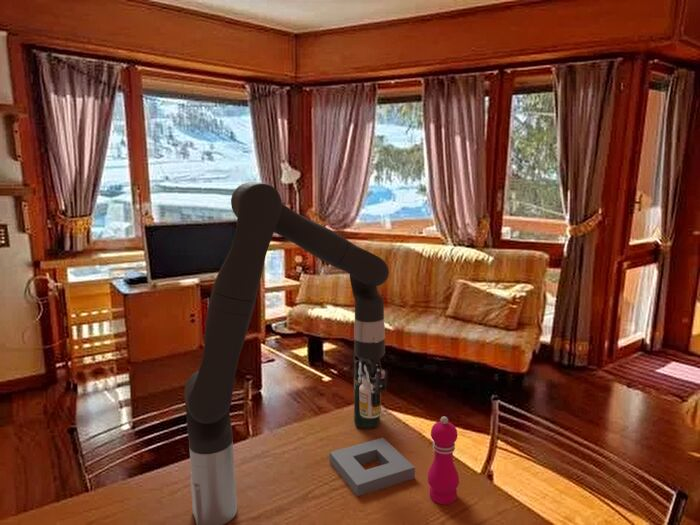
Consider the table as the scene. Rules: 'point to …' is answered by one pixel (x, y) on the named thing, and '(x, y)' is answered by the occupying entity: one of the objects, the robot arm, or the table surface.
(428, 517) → the table surface
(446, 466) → the pepper mill
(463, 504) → the table surface
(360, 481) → the socket block
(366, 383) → the supplement bottle
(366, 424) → the coffee jar
